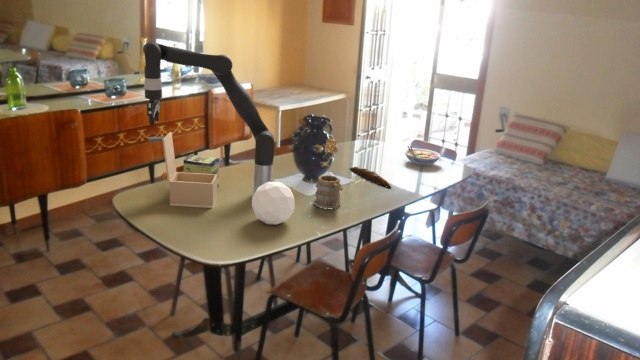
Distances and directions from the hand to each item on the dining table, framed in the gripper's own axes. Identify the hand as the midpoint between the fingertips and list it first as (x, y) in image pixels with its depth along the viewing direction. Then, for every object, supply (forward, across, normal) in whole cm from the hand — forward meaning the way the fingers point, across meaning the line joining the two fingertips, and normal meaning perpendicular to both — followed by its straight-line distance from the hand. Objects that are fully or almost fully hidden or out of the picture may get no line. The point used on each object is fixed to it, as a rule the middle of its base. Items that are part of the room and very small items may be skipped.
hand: (154, 122), depth 257 cm
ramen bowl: (+40, +85, -146) cm, 174 cm away
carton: (+38, 0, -18) cm, 42 cm away
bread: (+40, +51, -109) cm, 127 cm away
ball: (+38, -20, -57) cm, 71 cm away
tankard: (+39, +2, -84) cm, 92 cm away
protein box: (+38, +19, -18) cm, 46 cm away
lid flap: (+16, 0, -7) cm, 17 cm away
